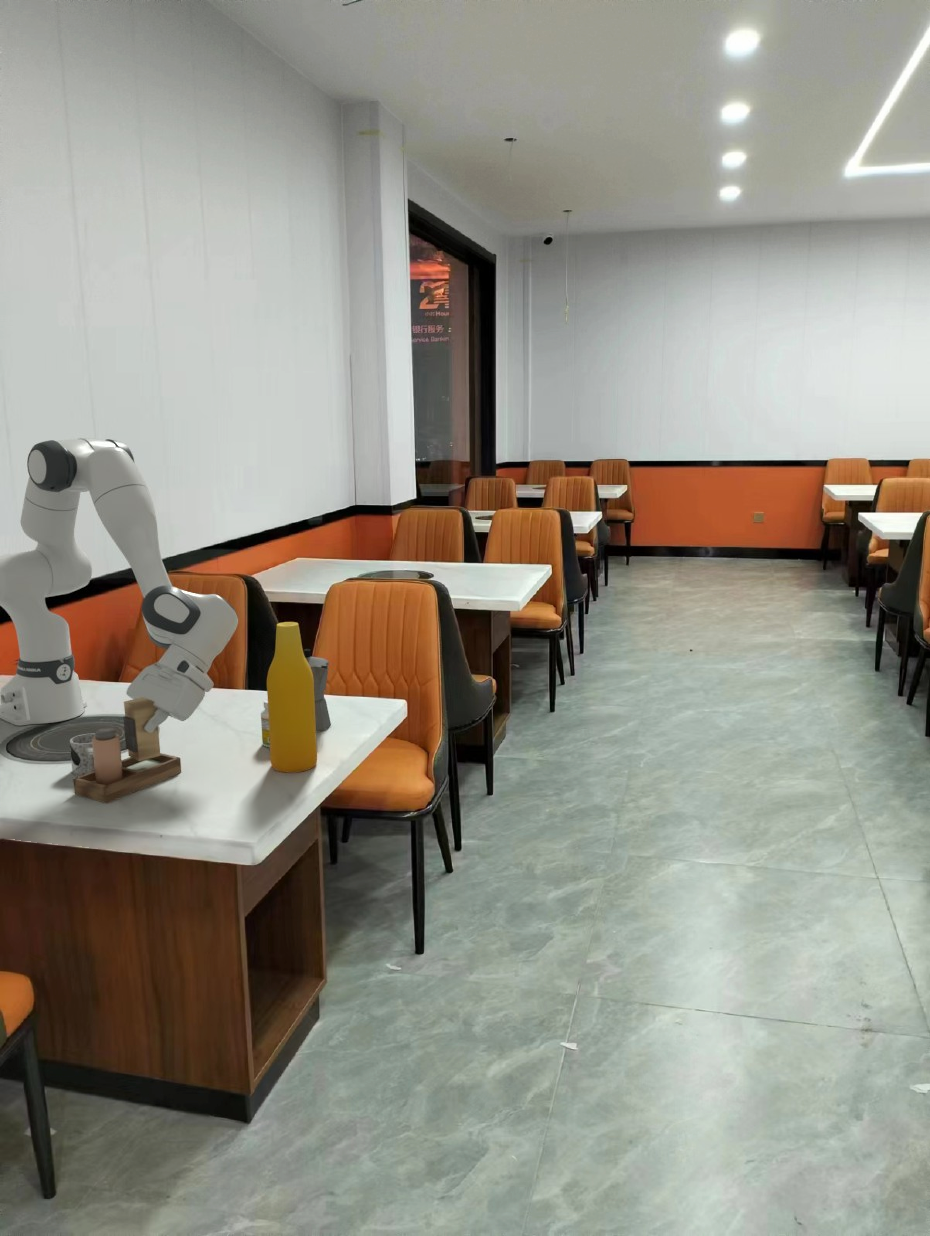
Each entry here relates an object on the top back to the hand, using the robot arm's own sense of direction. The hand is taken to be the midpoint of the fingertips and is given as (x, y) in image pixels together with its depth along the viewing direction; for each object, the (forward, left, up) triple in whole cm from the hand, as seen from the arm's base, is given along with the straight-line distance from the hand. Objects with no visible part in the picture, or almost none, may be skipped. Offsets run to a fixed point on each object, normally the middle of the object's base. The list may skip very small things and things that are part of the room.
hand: (138, 727), depth 191 cm
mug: (-11, -3, -10) cm, 15 cm away
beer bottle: (+22, +20, -10) cm, 31 cm away
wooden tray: (0, -3, -10) cm, 11 cm away
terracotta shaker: (0, -8, -9) cm, 12 cm away
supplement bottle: (+10, +28, -10) cm, 31 cm away
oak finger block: (0, +1, -6) cm, 6 cm away
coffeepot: (+8, +41, -10) cm, 43 cm away
